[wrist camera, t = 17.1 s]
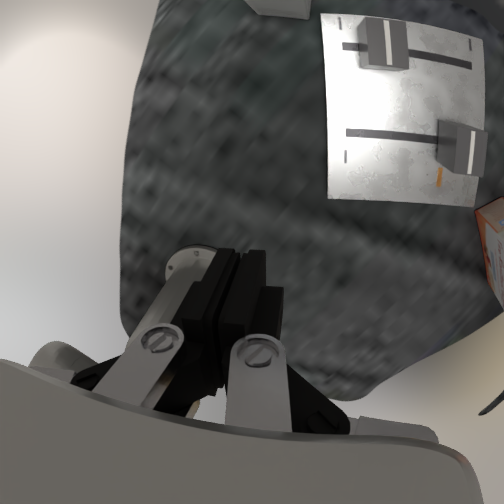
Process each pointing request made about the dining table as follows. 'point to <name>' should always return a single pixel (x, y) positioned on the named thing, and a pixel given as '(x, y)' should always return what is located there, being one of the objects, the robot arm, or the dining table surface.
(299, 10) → the skincare box
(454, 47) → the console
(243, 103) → the dining table surface
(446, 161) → the fader
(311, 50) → the dining table surface
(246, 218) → the dining table surface
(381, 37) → the fader
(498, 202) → the cracker box
